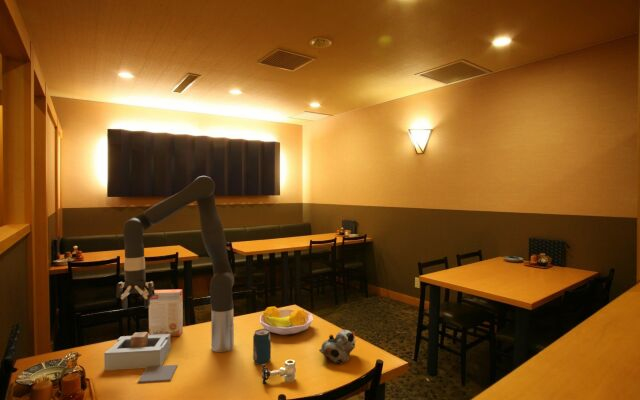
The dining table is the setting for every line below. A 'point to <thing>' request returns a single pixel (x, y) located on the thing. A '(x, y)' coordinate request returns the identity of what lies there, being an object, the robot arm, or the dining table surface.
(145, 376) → the rubber pad
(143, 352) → the box
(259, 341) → the soda can
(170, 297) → the cracker box
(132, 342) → the walnut block
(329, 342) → the grey metal pump housing
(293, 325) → the fruit bowl
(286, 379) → the valve
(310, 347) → the dining table surface
